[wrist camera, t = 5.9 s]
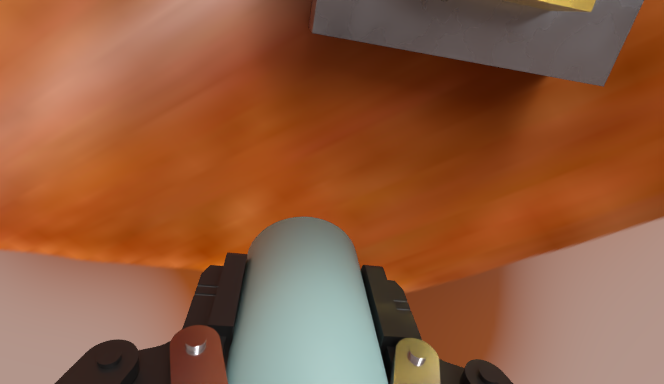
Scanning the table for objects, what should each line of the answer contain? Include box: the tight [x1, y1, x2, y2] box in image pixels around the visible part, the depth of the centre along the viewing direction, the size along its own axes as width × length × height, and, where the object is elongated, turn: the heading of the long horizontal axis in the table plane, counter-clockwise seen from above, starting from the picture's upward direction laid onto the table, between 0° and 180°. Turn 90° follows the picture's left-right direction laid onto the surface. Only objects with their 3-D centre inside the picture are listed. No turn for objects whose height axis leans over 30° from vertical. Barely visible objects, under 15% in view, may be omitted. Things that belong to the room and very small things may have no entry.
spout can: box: [226, 217, 388, 384], centre depth 11 cm, size 4×4×10 cm
